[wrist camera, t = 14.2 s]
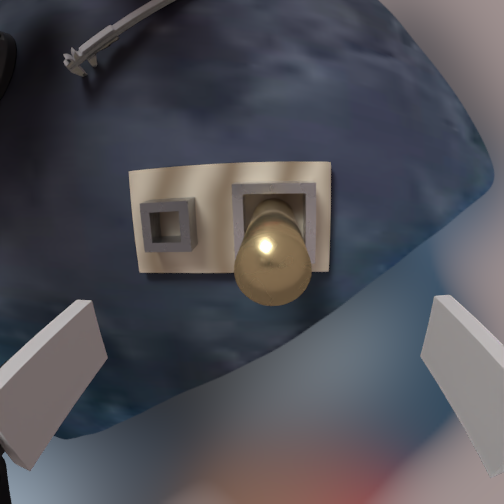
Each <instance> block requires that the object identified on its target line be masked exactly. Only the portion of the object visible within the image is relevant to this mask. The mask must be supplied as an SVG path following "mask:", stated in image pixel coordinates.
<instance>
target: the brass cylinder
mask: <svg viewBox="0 0 504 504" xmlns="http://www.w3.org/2000/svg"><path fill="white" fill-rule="evenodd" d="M311 272H312V265H311V260H310V257H309V254H308V251H307V249H306V246H305V243H304V240H303V238H302V235H301V232H300V229H299V227H298V224H297V221H296V218H295V216H294V213H293V210H292V209H291V207H290V206H289V205H288V204H287V203H286V202H285V201H283V200H281V199H277V198H270V199H266V200H264V201H262V202H261V203H259V204H258V205H257V207H256V208H255V210H254V212H253V215H252V217H251V220H250V223H249V225H248V228H247V230H246V233H245V236H244V238H243V241H242V243H241V246H240V248H239V251H238V254H237V256H236V259H235V264H234V275H235V279H236V282H237V284H238V286H239V288H240V290H241V291H242V292H243V293H244V294H245V295H246V296H247V297H248V298H249V299H251V300H253V301H254V302H257V303H259V304H262V305H267V306H278V305H283V304H287V303H289V302H291V301H293V300H295V299H296V298H297V297H299V296H300V295H301V294H302V293H303V292H304V290H305V289H306V287H307V286H308V284H309V281H310V278H311Z"/></svg>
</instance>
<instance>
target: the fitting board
mask: <svg viewBox="0 0 504 504" xmlns="http://www.w3.org/2000/svg"><path fill="white" fill-rule="evenodd" d="M129 182H130V195H131V206H132V216H133V226H134V234H135V243H136V250H137V258H138V265H139V271H140V273H234V264H235V259H236V256H237V254H238V251H239V248H240V246H241V243H242V241H243V238H244V236H245V233H246V230H247V228H248V225H249V223H250V220H251V217H252V215H253V212H254V210H255V208H256V207H257V205H258V204H259V203H261V202H262V201H264V200H266V199H270V198H277V199H281V200H283V201H285V202H286V203H287V204H288V205H289V206H290V207H291V209H292V210H293V213H294V216H295V218H296V221H297V224H298V227H299V229H300V232H301V235H302V238H303V240H304V243H305V246H306V249H307V251H308V254H309V257H310V260H311V265H312V272H329V252H330V220H331V162H248V163H224V164H206V165H191V166H178V167H166V168H155V169H146V170H136V171H129Z"/></svg>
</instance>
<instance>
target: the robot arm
mask: <svg viewBox="0 0 504 504" xmlns="http://www.w3.org/2000/svg"><path fill="white" fill-rule="evenodd" d="M15 59H16V44H15V41H14V39H13V37H12V36H11V35H10V34H7V33H4V32H1V31H0V99H1V98H2V96H3V94H4V93H5V90H6V88H7V86H8V84H9V81H10V79H11V76H12V73H13V69H14V65H15ZM420 357H421V358H422V360H423V361H424V363H425V364H426V366H427V368H428V369H429V371H430V372H431V374H432V375H433V377H434V379H435V380H436V382H437V383H438V385H439V387H440V388H441V390H442V391H443V393H444V395H445V397H446V398H447V400H448V401H449V403H450V405H451V407H452V408H453V410H454V411H455V413H456V415H457V417H458V419H459V420H460V422H461V424H462V425H463V427H464V429H465V431H466V433H467V435H468V436H469V438H470V440H471V442H472V444H473V445H474V447H475V449H476V451H477V453H478V455H479V457H480V459H481V461H482V463H483V464H484V466H485V468H486V471H487V472H488V475H489V476H490V478H492V477H494V476H497V475H499V474H501V473H503V472H504V345H503V344H502V343H501V342H500V341H499V340H498V339H497V338H495V336H494V335H493V334H491V332H489V330H487V329H486V328H485V327H484V326H483V325H482V324H481V323H480V322H479V321H478V320H477V319H476V318H475V317H474V316H473V315H472V314H471V313H470V312H468V311H467V310H466V309H465V308H464V307H463V306H462V305H461V304H460V303H458V301H456V300H455V299H454V298H453V297H452V296H451V295H442V296H434V300H433V305H432V310H431V315H430V319H429V324H428V328H427V332H426V336H425V340H424V344H423V348H422V352H421V355H420ZM107 358H108V357H107V354H106V351H105V347H104V344H103V341H102V337H101V334H100V330H99V326H98V323H97V319H96V315H95V311H94V307H93V303H92V300H76V301H75V302H74V303H72V304H71V305H70V306H69V307H68V308H66V309H65V310H64V311H63V312H62V313H61V314H59V315H58V316H57V317H56V318H55V319H54V320H53V321H51V322H50V323H49V324H48V325H47V326H46V327H45V328H43V329H42V330H41V331H40V332H39V333H38V334H37V335H36V336H34V337H33V338H32V339H31V340H30V341H29V342H28V343H27V344H26V345H24V346H23V347H22V348H21V349H20V350H19V351H18V352H17V353H16V354H15V355H14V356H13V357H12V358H11V359H9V360H8V361H6V362H5V363H4V364H3V365H2V366H1V367H0V504H11V498H10V492H9V485H8V477H7V469H6V463H5V460H4V459H3V457H2V454H3V453H4V452H6V453H7V454H8V456H9V457H10V458H11V459H12V461H13V462H14V463H15V464H17V465H19V466H21V467H23V468H25V469H27V470H29V471H31V469H32V468H33V466H34V465H35V463H36V461H37V460H38V458H39V457H40V455H41V454H42V452H43V451H44V449H45V448H46V446H47V444H48V443H49V441H50V440H51V438H52V437H53V435H54V434H55V432H56V431H57V429H58V428H59V426H60V425H61V423H62V422H63V421H64V419H65V418H66V416H67V415H68V413H69V412H70V410H71V409H72V407H73V406H74V405H75V403H76V402H77V400H78V399H79V397H80V396H81V395H82V393H83V392H84V390H85V389H86V387H87V386H88V385H89V383H90V382H91V380H92V379H93V378H94V376H95V375H96V373H97V372H98V371H99V369H100V368H101V367H102V365H103V364H104V362H105V361H106V360H107Z"/></svg>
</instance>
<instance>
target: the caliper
mask: <svg viewBox="0 0 504 504" xmlns="http://www.w3.org/2000/svg"><path fill="white" fill-rule="evenodd" d="M174 1H176V0H152V1H150V2H148V3H147V4H145V5H143V6H142V7H140V8H138V9H137V10H135V11H134V12H132V13H130V14H129V15H127V16H126V17H124V18H123V19H121V20H120V21H118V22H117V23H115V24H114V25H112V26H111V25H109V26H108V27H106V28H105V29H103V30H102V31H100V32H99V33H98V34H96V35H95V36H94V37H92V38H91V39H90V40H88V41H87V42H86V43H84V44H83V45H82V46H80V47H79V51H78V52H77V51H75V50H74V48H73V47H72V48H71V54H72V56H71V55H70V54H63V55H64V57H65V60H64V61H63V62H64V64H65V66H66V67H67V68H68V69H69V70H70V71H71V73H74V74H77V75H79V76H83V77H84V76H86V75H87V74H86V72H85V71H84V69H83V68H82V67H81V66H80V64H81V63H82V62H84V61H85V60H86V59H87V60H88V62H89V63H90V64H91V65H92V66H93V67H94V68H95V67H96V66H97V58H96V53H97V52H99V51H100V50H103V49H105V48H107V47H109V46H110V45H111V44H112V43H113V42H115V41H117V40H118V39H119V37H118V35H120V34H121V33H123V32H124V31H126V30H127V29H129V28H130V27H132V26H133V25H135V24H136V23H138V22H140V21H141V20H143V19H144V18H146V17H148V16H149V15H151V14H153V13H154V12H156V11H158V10H159V9H161V8H163V7H165V6H166V5H168V4H170V3H172V2H174Z"/></svg>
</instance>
